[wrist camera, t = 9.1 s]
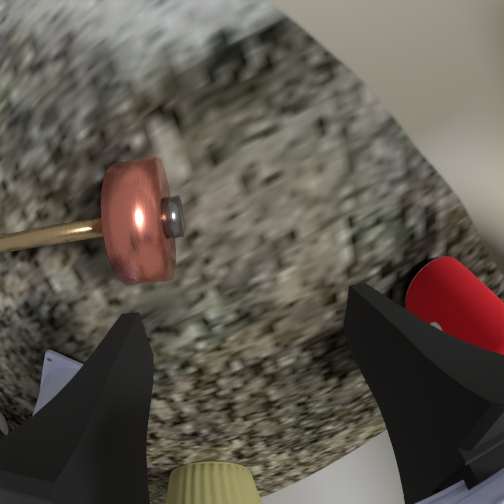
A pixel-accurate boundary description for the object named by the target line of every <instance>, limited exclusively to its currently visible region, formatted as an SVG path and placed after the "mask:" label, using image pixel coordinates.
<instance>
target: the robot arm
mask: <svg viewBox="0 0 504 504" xmlns="http://www.w3.org/2000/svg"><path fill="white" fill-rule="evenodd" d="M343 331H344V334H345V336H346V339H347V342H348V345H349V348H350V350H351V353H352V355H353V357H354V359H355V361H356V363H357V365H358V367H359V369H360V371H361V372H362V374H363V376H364V378H365V380H366V382H367V384H368V386H369V388H370V390H371V392H372V394H373V396H374V398H375V400H376V402H377V404H378V406H379V408H380V411H381V414H382V416H383V419H384V422H385V425H386V428H387V430H388V434H389V437H390V440H391V443H392V446H393V450H394V453H395V457H396V461H397V465H398V469H399V473H400V478H401V483H402V489H403V494H404V501H405V504H504V355H503V354H499V353H496V352H492V351H489V350H486V349H483V348H480V347H478V346H475V345H472V344H470V343H467V342H465V341H463V340H460V339H458V338H456V337H454V336H452V335H450V334H448V333H445V332H443V331H441V330H440V329H438V328H436V327H434V326H432V325H430V324H429V323H427V322H425V321H424V320H422V319H420V318H418V317H417V316H415V315H414V314H412V313H410V312H409V311H407V310H406V309H404V308H403V307H401V306H400V305H398V304H397V303H395V302H393V301H392V300H390V299H389V298H387V297H386V296H384V295H383V294H381V293H380V292H378V291H377V290H375V289H374V288H372V287H371V286H369V285H367V284H365V283H364V284H358V285H351V286H349V292H348V300H347V307H346V314H345V321H344V328H343ZM152 387H153V352H152V350H151V347H150V344H149V341H148V338H147V336H146V333H145V330H144V327H143V324H142V321H141V318H140V315H139V313H127V314H122V315H121V316H120V317H119V319H118V320H117V321H116V323H115V324H114V325H113V327H112V328H111V329H110V331H109V332H108V333H107V335H106V336H105V337H104V339H103V340H102V342H101V343H100V344H99V345H98V347H97V348H96V349H95V351H94V352H93V353H92V355H91V356H90V357H89V358H88V360H87V361H86V362H85V363H84V364H82V363H80V362H77V361H75V360H73V359H70V358H68V357H66V356H64V355H61V354H59V353H57V352H55V351H53V350H47V351H46V353H45V358H44V364H43V371H42V378H41V385H40V393H39V397H38V400H37V403H36V406H35V409H34V412H33V415H32V417H31V418H29V419H28V420H27V421H25V422H24V423H23V424H21V425H20V426H19V427H17V428H16V429H14V430H13V431H11V432H10V433H8V434H7V435H5V436H4V437H2V438H0V504H150V500H149V491H148V478H147V458H146V440H147V428H148V419H149V411H150V403H151V395H152Z"/></svg>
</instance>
